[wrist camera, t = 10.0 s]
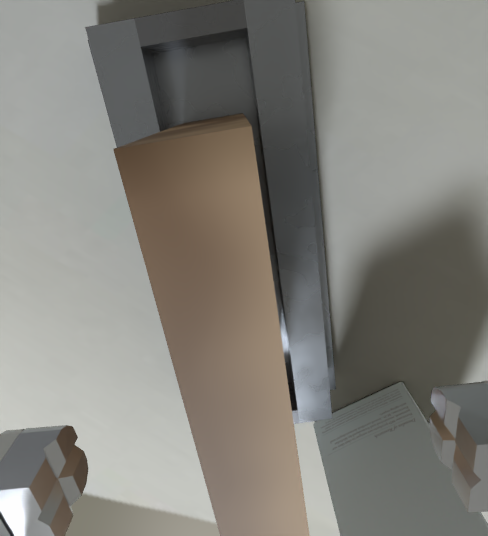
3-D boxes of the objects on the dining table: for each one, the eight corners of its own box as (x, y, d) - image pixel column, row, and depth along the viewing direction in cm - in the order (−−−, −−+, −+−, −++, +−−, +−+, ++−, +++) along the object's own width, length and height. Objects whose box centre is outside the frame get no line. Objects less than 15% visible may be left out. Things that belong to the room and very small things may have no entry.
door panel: (242, 113, 19) (252, 125, 8) (277, 348, 25) (311, 547, 14) (183, 123, 19) (113, 149, 8) (230, 355, 25) (226, 557, 14)
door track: (299, 8, 19) (314, -15, 15) (330, 374, 27) (345, 416, 24) (98, 44, 19) (66, 30, 16) (190, 394, 28) (183, 438, 24)
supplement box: (309, 421, 29) (358, 632, 17) (402, 377, 28) (523, 576, 16) (351, 480, 32) (419, 700, 20) (439, 443, 30) (566, 657, 19)
